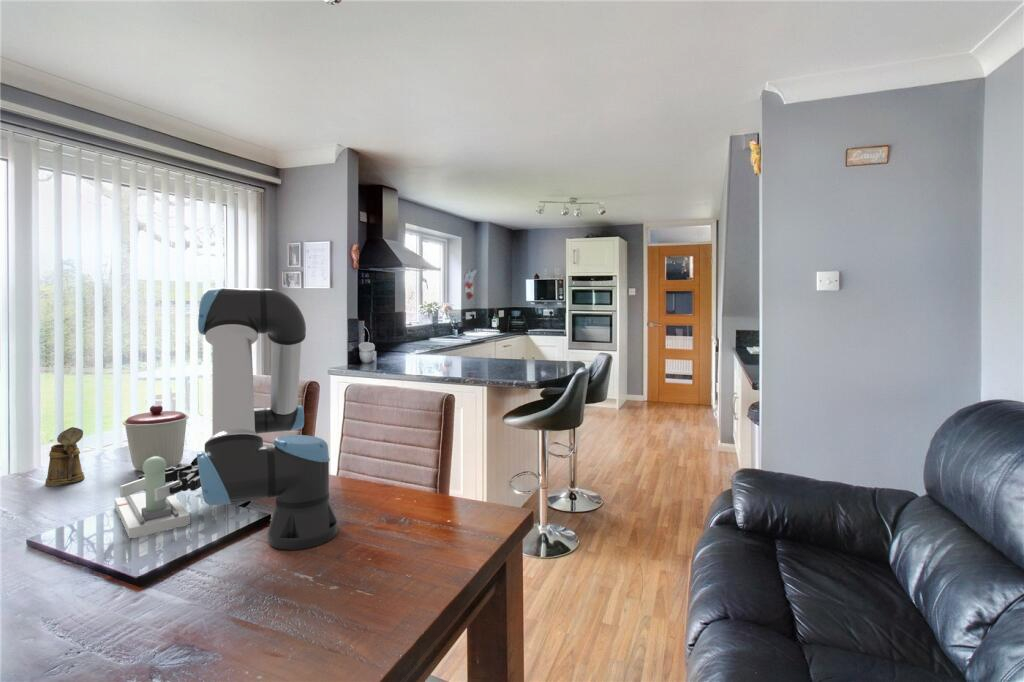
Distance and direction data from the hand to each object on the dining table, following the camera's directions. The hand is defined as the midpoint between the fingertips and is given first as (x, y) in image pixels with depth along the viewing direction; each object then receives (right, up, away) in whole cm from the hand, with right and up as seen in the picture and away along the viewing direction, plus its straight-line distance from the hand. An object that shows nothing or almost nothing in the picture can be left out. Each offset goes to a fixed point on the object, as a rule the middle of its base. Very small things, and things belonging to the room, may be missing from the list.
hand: (138, 493), depth 121 cm
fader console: (-5, -9, +11) cm, 15 cm away
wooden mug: (-47, -7, +35) cm, 59 cm away
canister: (-30, -7, +51) cm, 60 cm away
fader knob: (+1, -7, +5) cm, 8 cm away
